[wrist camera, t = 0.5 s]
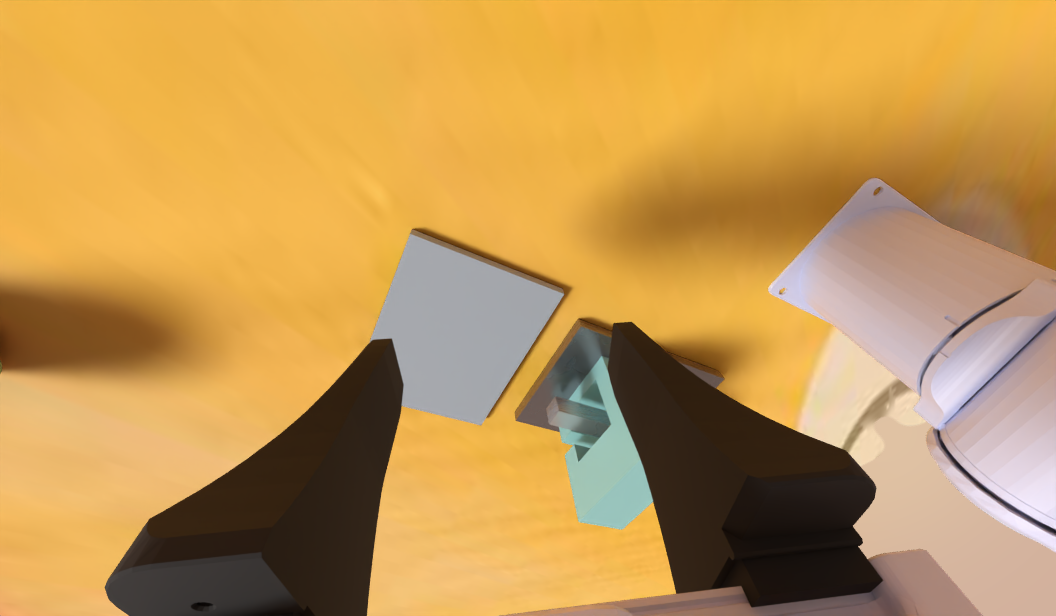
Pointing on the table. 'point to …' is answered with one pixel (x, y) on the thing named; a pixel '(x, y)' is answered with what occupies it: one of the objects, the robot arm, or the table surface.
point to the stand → (567, 372)
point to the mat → (460, 326)
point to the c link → (605, 460)
